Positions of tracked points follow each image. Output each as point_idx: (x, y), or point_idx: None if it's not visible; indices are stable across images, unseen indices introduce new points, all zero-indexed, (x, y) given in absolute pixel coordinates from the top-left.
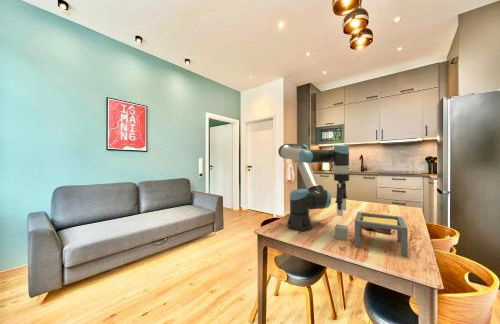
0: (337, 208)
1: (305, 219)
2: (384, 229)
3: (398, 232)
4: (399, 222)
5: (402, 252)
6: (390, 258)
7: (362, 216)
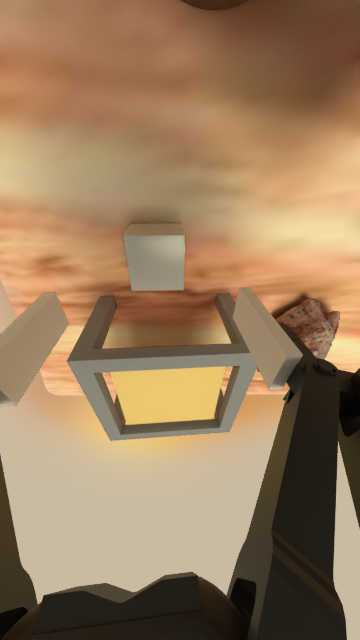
0: (10, 331)
1: None
2: None
3: None
4: (163, 430)
5: None
6: None
7: (325, 328)
